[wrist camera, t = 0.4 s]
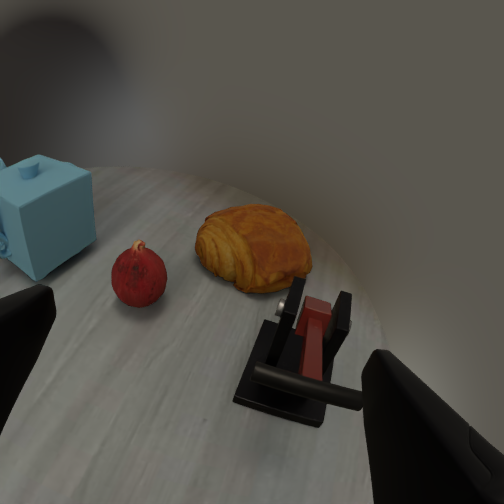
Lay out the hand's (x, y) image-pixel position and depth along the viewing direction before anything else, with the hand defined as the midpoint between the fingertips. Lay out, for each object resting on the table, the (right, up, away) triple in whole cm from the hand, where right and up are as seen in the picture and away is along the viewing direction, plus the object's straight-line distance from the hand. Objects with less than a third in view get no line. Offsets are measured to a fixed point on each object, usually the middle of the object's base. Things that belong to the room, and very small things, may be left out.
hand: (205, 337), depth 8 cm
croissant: (+1, +1, +35) cm, 35 cm away
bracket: (+5, -9, +21) cm, 24 cm away
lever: (+5, -5, +13) cm, 15 cm away
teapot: (-29, +3, +29) cm, 42 cm away
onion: (-11, -4, +26) cm, 28 cm away
